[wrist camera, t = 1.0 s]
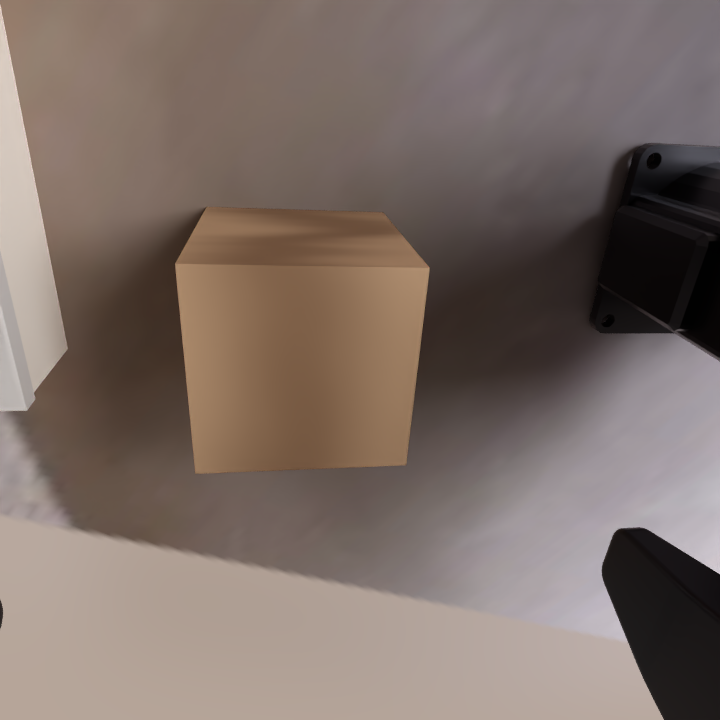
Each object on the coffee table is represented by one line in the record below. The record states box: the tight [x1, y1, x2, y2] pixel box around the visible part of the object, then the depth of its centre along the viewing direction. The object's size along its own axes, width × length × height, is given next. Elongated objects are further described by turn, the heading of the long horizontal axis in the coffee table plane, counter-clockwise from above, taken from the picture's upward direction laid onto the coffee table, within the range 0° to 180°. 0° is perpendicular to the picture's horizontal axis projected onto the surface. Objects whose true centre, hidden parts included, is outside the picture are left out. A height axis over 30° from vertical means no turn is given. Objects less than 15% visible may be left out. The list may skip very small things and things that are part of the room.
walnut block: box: [175, 207, 430, 474], centre depth 16 cm, size 6×6×6 cm
